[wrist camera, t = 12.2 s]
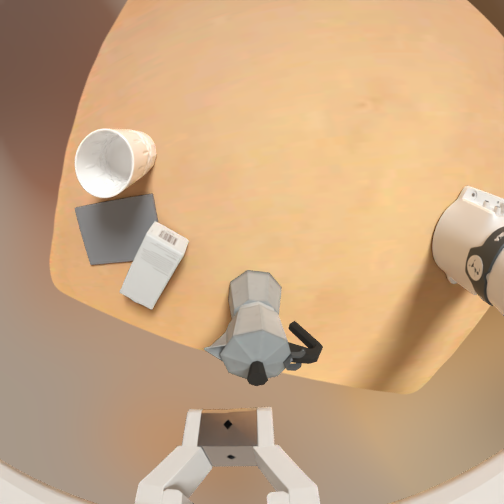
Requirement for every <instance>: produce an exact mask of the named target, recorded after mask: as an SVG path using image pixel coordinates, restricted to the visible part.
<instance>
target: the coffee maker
mask: <svg viewBox="0 0 504 504" xmlns="http://www.w3.org/2000/svg"><path fill="white" fill-rule="evenodd" d="M281 288H282V287H281V286H280V285H279V284H278V283H277V281H276V280H275V279H274V278H273V277H272V275H271V274H270V273H268V272H259V271H250V270H247V271H245V272H244V273H243V274H241V275H240V276H238V277H237V278H235V279H234V280H232V281H231V282H230V289H229V299H228V300H229V306H230V312H231V318H232V320H231V322H230V323H229V325H228V328H227V330H226V332H225V333H224V334H223V335H222V336H221V337H220V338H219V339H218V340H216V341H215V342H214V343H213V344H212V345H211V346H210V347H206V348H204V350H205V351H207V352H208V353H210V354H212V355H213V356H215V357H216V358H218V359H220V360H221V361H223V362H224V364H225V366H226V368H227V370H228V372H229V373H231V374H234V375H237V376H239V377H242V378H245V379H247V380H248V382H249V384H252V385H255V386H258V385H264V384H265V383H266V382H267V381H268V378H271V377H276V376H278V375H279V374H280V373H281V372H282V371H283V370H284V369H285V368H286V369H287V370H295V371H296V370H297V369H299V368H300V367H301V365H302V364H301V363H307V364H309V363H313V362H317V360H318V357H319V355H320V353H321V350H322V348H323V347H322V345H321V344H320V343H319V342H318V341H317V340H316V339H315V338H313V337H312V336H311V335H310V334H309V333H308V332H307V331H306V330H304V329H303V328H302V327H301V326H300V325H299V324H298V323H297V322H295V321H294V322H292V323H291V324H290V325H289V330H290V331H291V332H292V333H293V334H294V335H295V336H297V337H298V338H299V339H300V340H301V341H302V342H303V343H304V344H305V345H306V346H307V347H308V348H306V347H303V346H299V345H296V344H292V343H289V342H288V341H287V338H286V335H285V332H284V329H283V327H282V324H281V321H280V318H279V316H278V315H279V308H280V298H281ZM291 362H295V363H296V364H290V363H291Z"/></svg>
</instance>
